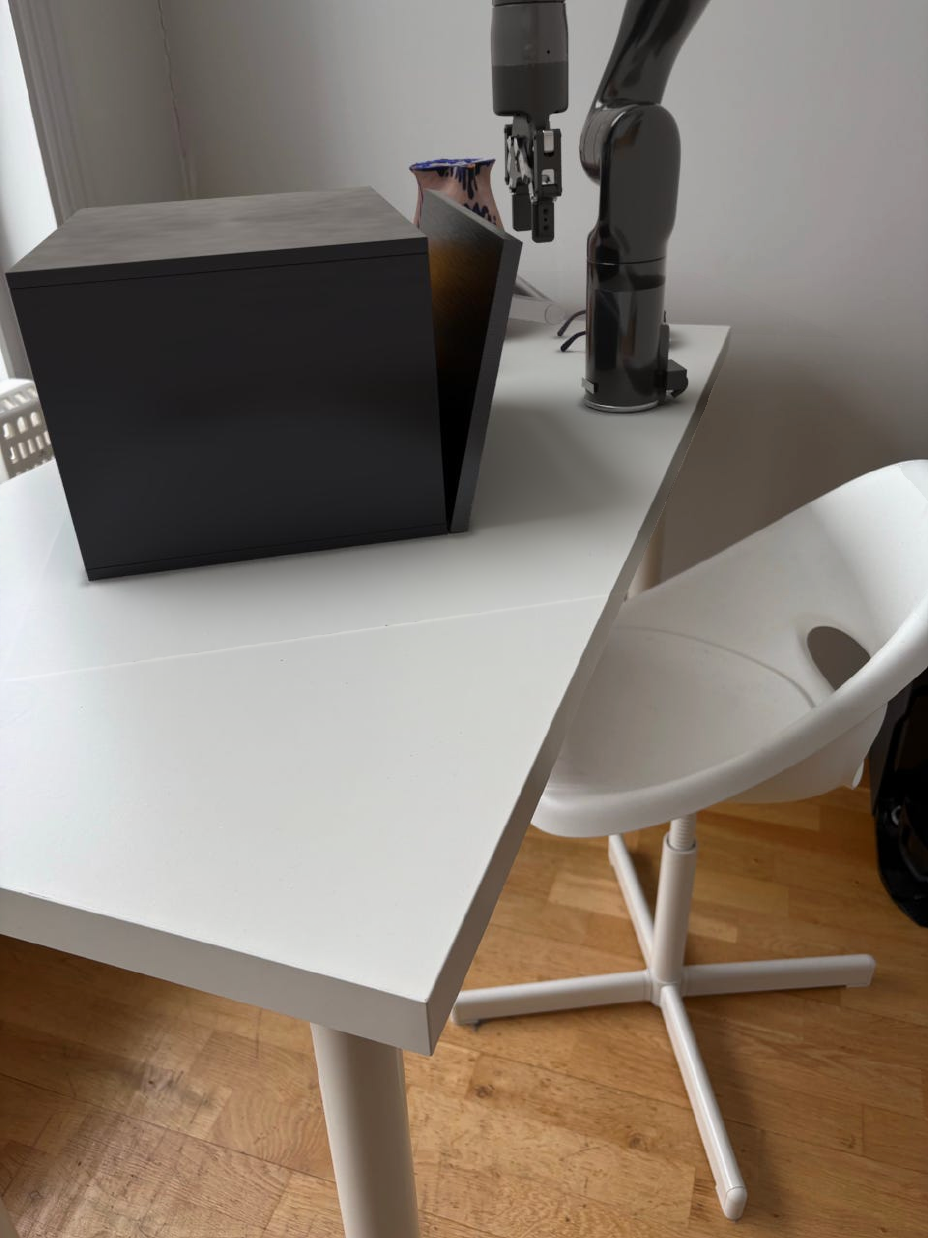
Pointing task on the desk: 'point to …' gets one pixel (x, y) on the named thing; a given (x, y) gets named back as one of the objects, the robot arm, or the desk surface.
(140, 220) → the oven
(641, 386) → the robot arm
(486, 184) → the ceramic pitcher
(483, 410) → the oven door
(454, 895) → the desk surface
